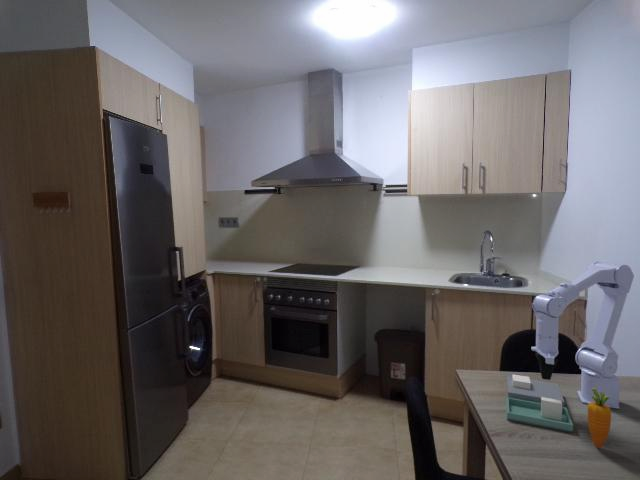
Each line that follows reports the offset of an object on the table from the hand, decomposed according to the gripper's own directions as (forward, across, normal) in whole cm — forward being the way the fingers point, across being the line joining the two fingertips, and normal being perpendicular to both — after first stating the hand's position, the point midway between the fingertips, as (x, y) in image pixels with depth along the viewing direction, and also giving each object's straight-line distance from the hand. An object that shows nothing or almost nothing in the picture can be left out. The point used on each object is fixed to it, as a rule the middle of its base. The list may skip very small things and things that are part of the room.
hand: (545, 378), depth 113 cm
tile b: (+6, -7, -6) cm, 11 cm away
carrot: (+10, +17, +10) cm, 22 cm away
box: (+9, +7, -3) cm, 12 cm away
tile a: (+6, +5, +1) cm, 8 cm away
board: (+9, -6, -3) cm, 11 cm away
